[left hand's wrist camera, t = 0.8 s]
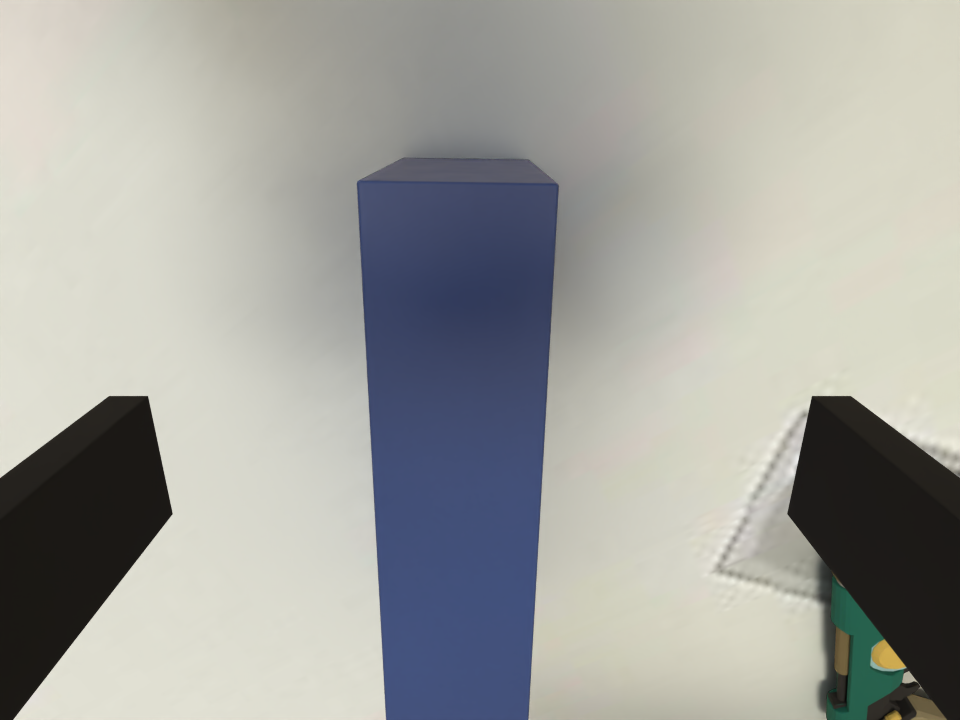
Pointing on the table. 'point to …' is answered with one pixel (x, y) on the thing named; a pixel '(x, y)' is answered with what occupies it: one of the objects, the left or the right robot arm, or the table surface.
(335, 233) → the table surface
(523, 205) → the box
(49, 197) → the table surface
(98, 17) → the table surface
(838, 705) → the spray gun
